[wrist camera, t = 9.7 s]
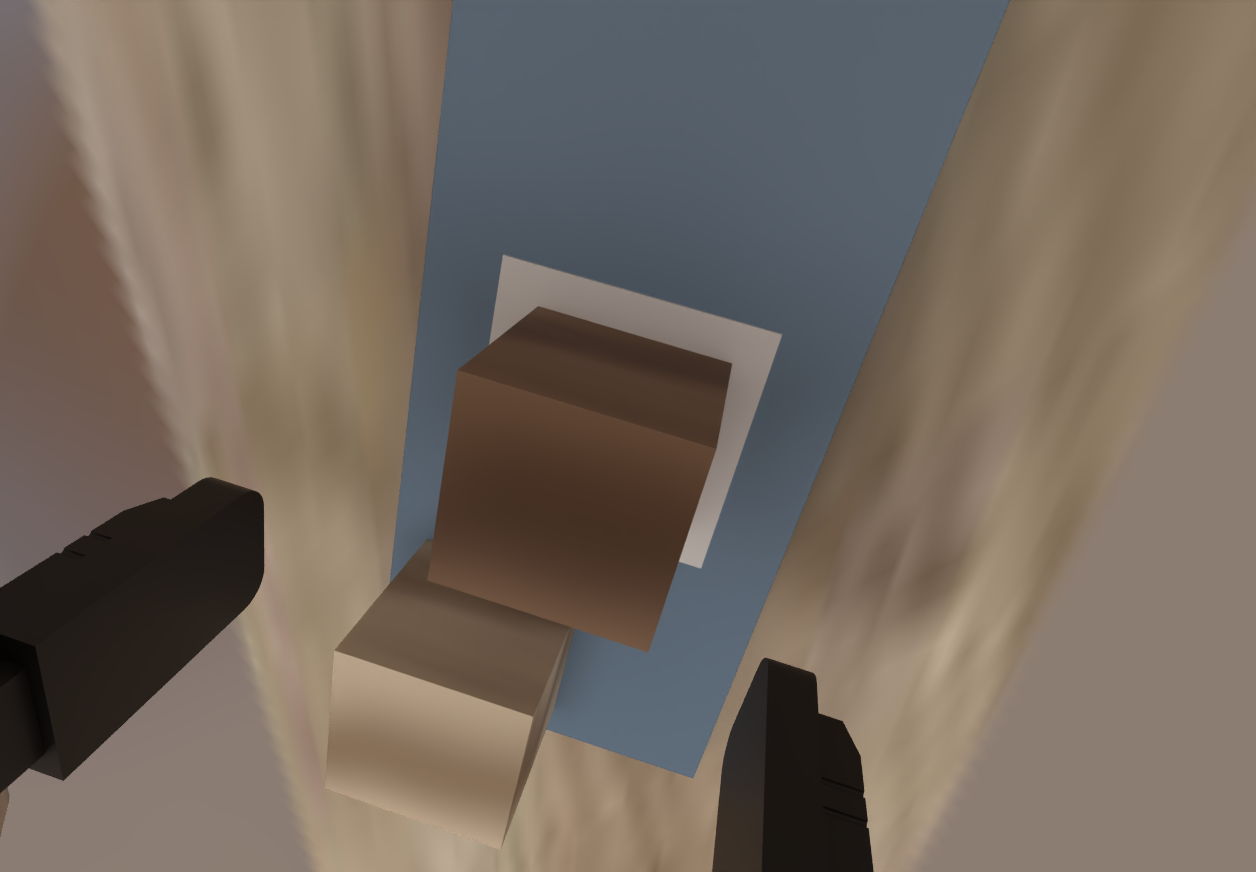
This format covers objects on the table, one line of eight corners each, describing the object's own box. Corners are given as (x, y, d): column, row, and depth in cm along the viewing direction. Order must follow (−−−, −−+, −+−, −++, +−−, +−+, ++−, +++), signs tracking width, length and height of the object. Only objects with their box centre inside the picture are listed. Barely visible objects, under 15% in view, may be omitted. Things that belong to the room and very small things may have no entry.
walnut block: (538, 305, 18) (457, 370, 13) (732, 363, 17) (716, 449, 13) (506, 476, 20) (427, 580, 16) (678, 529, 20) (647, 652, 15)
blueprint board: (489, -153, 15) (469, -172, 14) (1008, -26, 14) (1026, -37, 13) (394, 653, 25) (378, 675, 24) (696, 753, 24) (692, 781, 23)
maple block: (426, 539, 22) (334, 650, 17) (585, 589, 21) (533, 716, 17) (410, 661, 24) (325, 788, 19) (554, 708, 23) (500, 849, 19)
